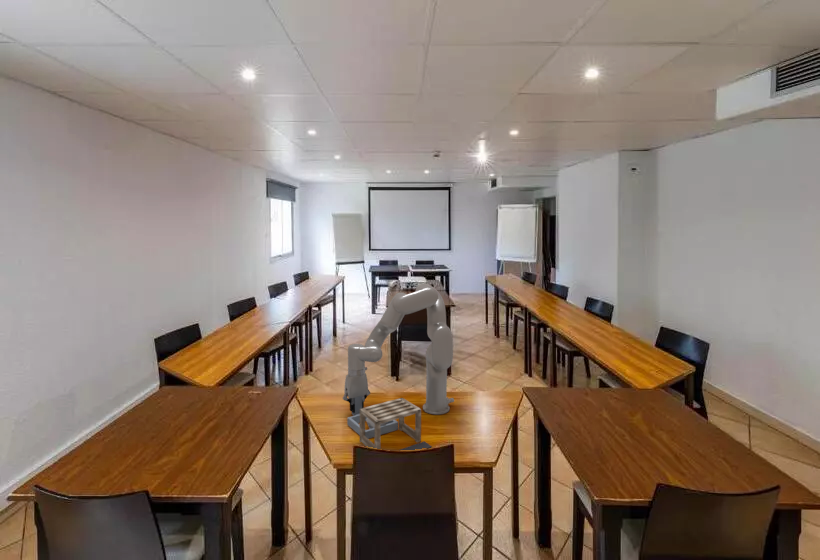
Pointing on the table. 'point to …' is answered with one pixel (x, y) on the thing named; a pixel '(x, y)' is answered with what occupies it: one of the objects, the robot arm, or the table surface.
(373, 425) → the die
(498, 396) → the table surface
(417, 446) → the pit mat
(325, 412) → the table surface
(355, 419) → the tray with upright post
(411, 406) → the tunnel
